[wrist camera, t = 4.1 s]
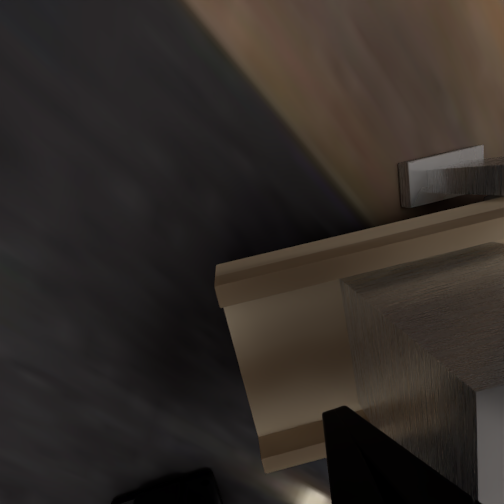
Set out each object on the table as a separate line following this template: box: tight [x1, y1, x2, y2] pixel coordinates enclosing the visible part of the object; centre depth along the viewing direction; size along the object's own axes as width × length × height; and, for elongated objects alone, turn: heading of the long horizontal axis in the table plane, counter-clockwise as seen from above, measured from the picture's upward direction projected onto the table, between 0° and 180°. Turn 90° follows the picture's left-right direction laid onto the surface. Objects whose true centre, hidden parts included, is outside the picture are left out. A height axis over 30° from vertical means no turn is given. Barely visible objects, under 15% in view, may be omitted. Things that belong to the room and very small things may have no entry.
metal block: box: [339, 242, 504, 504], centre depth 9 cm, size 6×6×6 cm
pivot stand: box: [398, 145, 504, 208], centre depth 15 cm, size 13×4×5 cm, turn 13°
